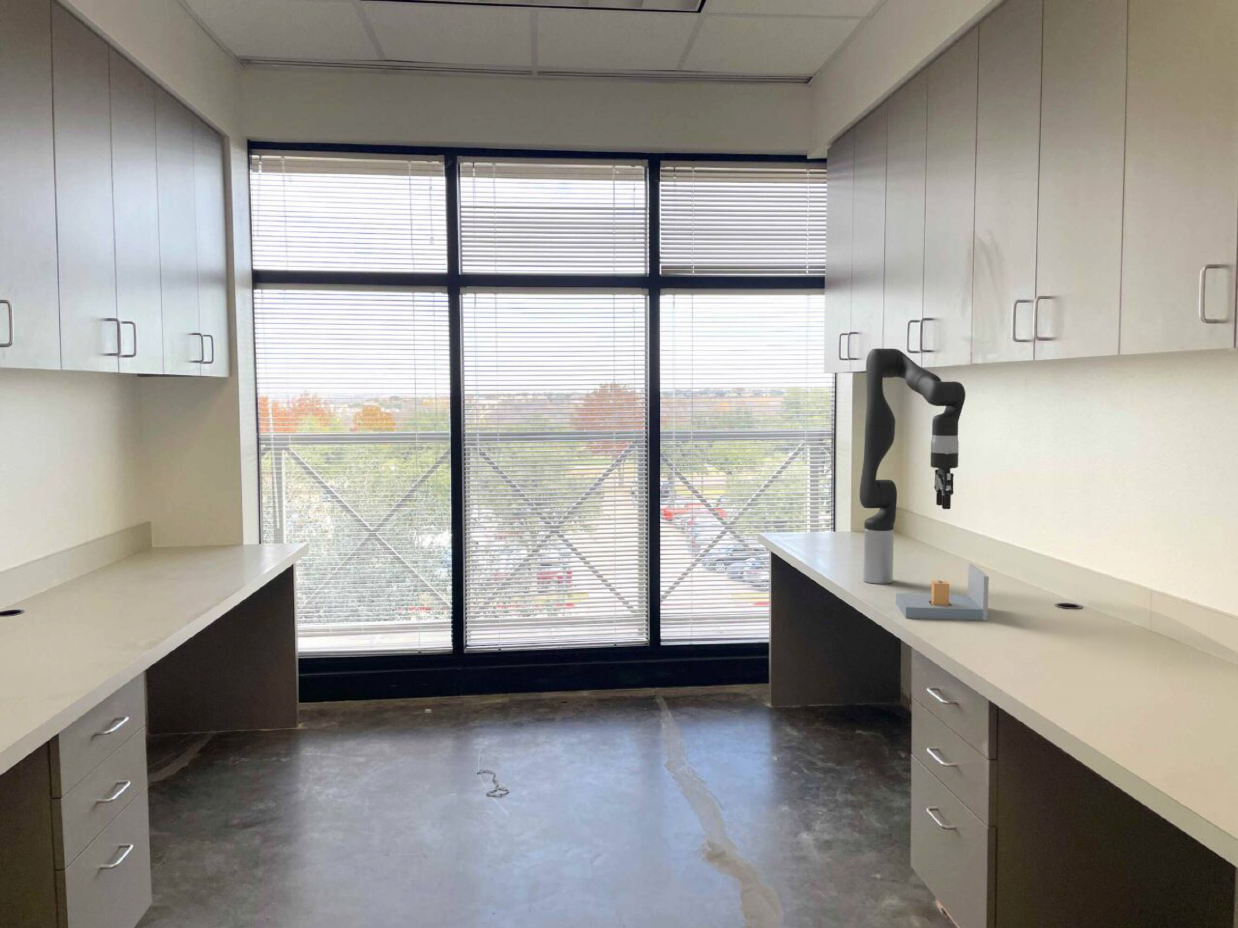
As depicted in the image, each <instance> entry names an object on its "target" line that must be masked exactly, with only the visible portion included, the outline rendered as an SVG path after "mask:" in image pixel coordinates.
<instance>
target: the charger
mask: <svg viewBox="0 0 1238 928" xmlns="http://www.w3.org/2000/svg"><path fill="white" fill-rule="evenodd" d="M930 594H931V605H939V606H949V594H950V583H949V582H948V580H931V593H930Z"/></svg>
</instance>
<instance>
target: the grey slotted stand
mask: <svg viewBox="0 0 1238 928" xmlns="http://www.w3.org/2000/svg"><path fill="white" fill-rule="evenodd" d="M967 572H968V575H967V576H968V579H967V582H968V583H967V594H950V593H949V606H939V605H931V593H908V592H895V604H896V605H897V607H898V609H899V610H900V612H901V613H902V614H903V616H904V618H905V619H920V620H921V619H922V620H923V619H924V620H925V619H926V620H953V621H954V620H955V621H956V620H957V621H982V622H983V621H986V622H988V616H989V613H988V610H989V583H990V582H989V580H990V579H989V578H990V577H989V575H987V574H986V573H985V572H984V571H982V570H981V569H980V568H979V567H977V566H976V565H975V564H973V563H968V571H967Z"/></svg>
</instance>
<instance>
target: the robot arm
mask: <svg viewBox="0 0 1238 928" xmlns="http://www.w3.org/2000/svg"><path fill="white" fill-rule="evenodd" d="M865 361H866V362H865V377H866V406H865V407H866V413H865V425H864V446H863V448H864V449H863V450H864V451H863V463H862V469H861V477H860V484H859V485H860V486H859V502H860V505H861V506H862V507H863V508H864V509H879V510H878V512H876V513H875V514H874V515H873V516H870V517H868V518H866V519H865V520H864V524H863V525H864V531H863V532H864V533H863V538H864V539H863V542H864V543H863V577H862V578H863V582H865V583H868V584H869V583H870V584H877V585H878V584H879V585H881V584H883V585H884V584H885V585H886V584H891V583H894V581H893V580H894V541H895V540H894V536H895V535H894V532H895V531H894V530H895V522H896V515H897V501H898V500H897V499H898V490H897V486H896V484H895V482H894V481H893V480H891V479H877V473H878V470H879V466H880V465H881V462H882V461H883V460H884V458H885V457H886V455H887V453H888V452H889V450H890V449H891V447H892V446H893V444H894V441H895V434H896V432H895V431H896V417H895V415H894V413H893V411H892V408H891V406H890V405H889V403H888V401H887V399H886V396H885V395H884V387H883V386H884V385H883V384H884V383H883V382H884V381H883V379H884V378H885V379H892V378H900V379H904V380H905V383H906V385H907V386H908V387H909V388H910V390H913V392H916V393H918V394H919V395H921V396H922V397H923V398H924V400H925V401H926V402H927V403H928V404H929V405H932V406H935V407H945V408H944V411H943V413H940V414H936V415H934V416H933V418H932V423H931V428H932V429H931V441H930V465H929V466H930V467H931V468H934V487H933V488H934V490H935V493H936V498H935V499H936V500H935V504H936V506H941V508H942V509H943V510H950V509H951V507H952V504H951V502H952V495H954V477H955V475H954V473H953V472H951V469H957V468H958V467H959V451H960V450H959V448H960V447H959V444H960V443H959V420H960V417H961V414H962V410H963V407H964V404H965V399H966V390H965V387H964V385H963V384H962V383H961V382H959V381H942V379H941V378H940V377H939V376H938V375H937V374H935V373H933V372H932V371H929V370H928V369H925V368H923V367H921V366H919V365H918V364H917V362H915V361H914V360H912V359H911V358H910V357H909V356H907V355H906V353H904V352H903V351H901V350H900V349H896V348H872V349H871V350H869V352H868V354H867V356H866V360H865Z"/></svg>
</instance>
